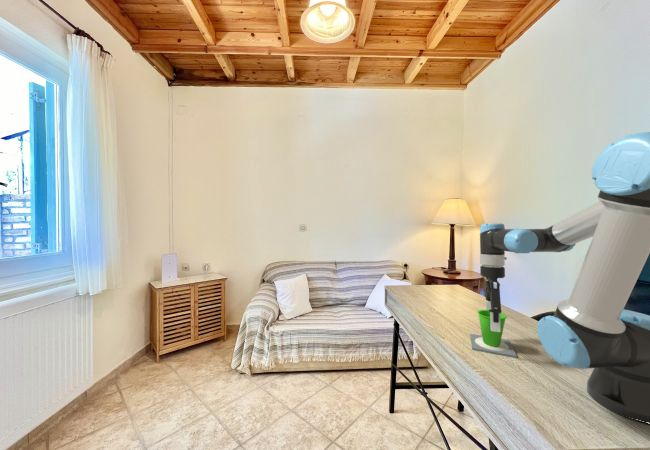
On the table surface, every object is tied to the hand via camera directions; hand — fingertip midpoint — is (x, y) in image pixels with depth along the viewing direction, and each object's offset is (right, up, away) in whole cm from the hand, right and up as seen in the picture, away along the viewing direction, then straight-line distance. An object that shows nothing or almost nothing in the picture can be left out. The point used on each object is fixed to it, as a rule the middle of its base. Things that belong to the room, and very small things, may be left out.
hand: (492, 324), depth 96 cm
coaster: (0, -8, +1) cm, 8 cm away
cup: (0, -8, +1) cm, 8 cm away
